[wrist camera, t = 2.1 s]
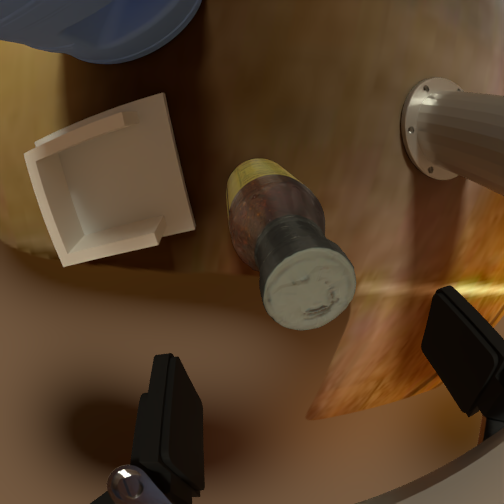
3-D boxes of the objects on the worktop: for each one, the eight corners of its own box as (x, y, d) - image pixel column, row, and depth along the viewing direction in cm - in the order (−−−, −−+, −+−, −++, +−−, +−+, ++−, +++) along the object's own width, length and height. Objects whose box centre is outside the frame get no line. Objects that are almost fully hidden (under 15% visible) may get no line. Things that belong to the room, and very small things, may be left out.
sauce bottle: (279, 219, 32) (345, 361, 14) (220, 209, 30) (221, 354, 13) (294, 159, 29) (401, 245, 11) (232, 147, 28) (252, 216, 10)
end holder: (165, 93, 25) (151, 89, 19) (195, 225, 31) (191, 249, 26) (40, 140, 24) (10, 149, 19) (77, 253, 31) (56, 278, 26)
